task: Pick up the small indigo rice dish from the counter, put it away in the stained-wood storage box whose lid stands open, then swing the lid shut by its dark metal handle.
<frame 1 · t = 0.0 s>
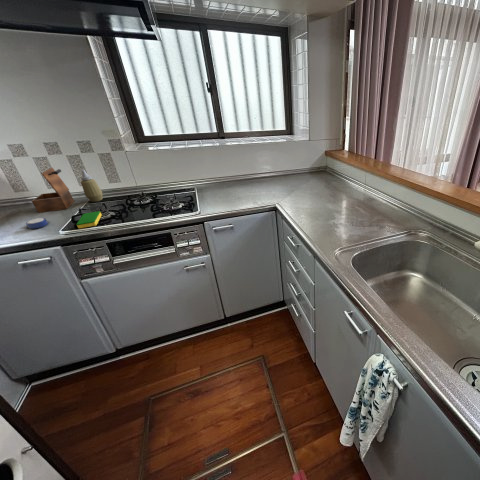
squeeze bottle: (97, 200, 158), on the worktop
storage box: (57, 206, 150), on the worktop
dish sponge: (90, 222, 133), on the worktop
box lid: (60, 180, 145), point 14 cm above the worktop, hinge at 80.0°
rice dish: (39, 226, 129), on the worktop
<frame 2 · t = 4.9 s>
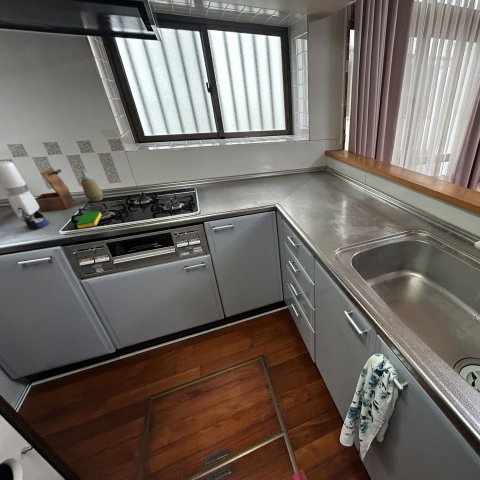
hand: (38, 224, 129), 1 cm above the worktop, tool pointing down, fingers closed on rice dish, 7 cm apart
rice dish: (39, 226, 129), on the worktop, touching gripper
everything else where it was.
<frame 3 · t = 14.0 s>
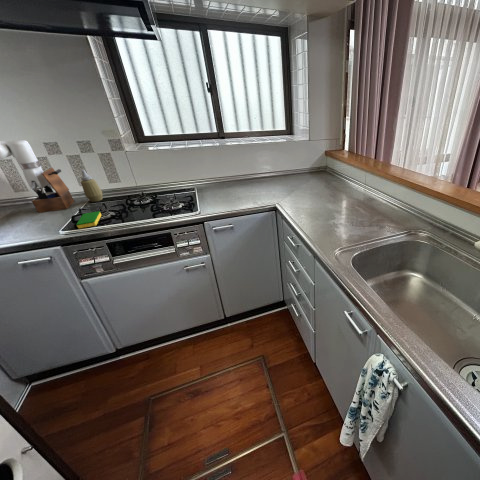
hand: (48, 197, 147), 6 cm above the worktop, tool pointing down, fingers closed on rice dish, 7 cm apart
rice dish: (49, 199, 147), point 5 cm above the worktop, touching gripper
everything else where it was.
when the fingers open (7 cm above the worktop, at t = 27.4 s): rice dish drops 6 cm, resting on storage box.
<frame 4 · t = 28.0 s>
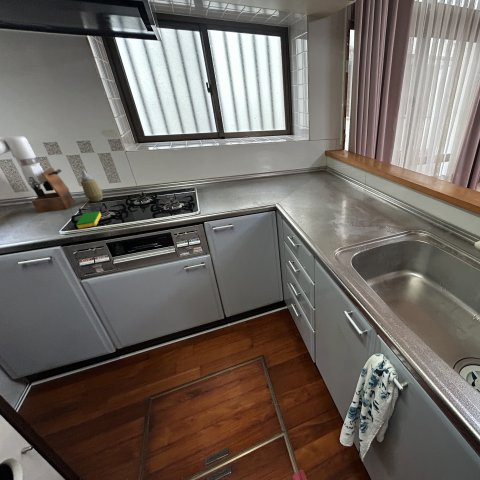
hand: (46, 193, 146), 8 cm above the worktop, tool pointing down, fingers open, 9 cm apart
rice dish: (53, 205, 150), point 1 cm above the worktop, touching storage box
everything else where it was.
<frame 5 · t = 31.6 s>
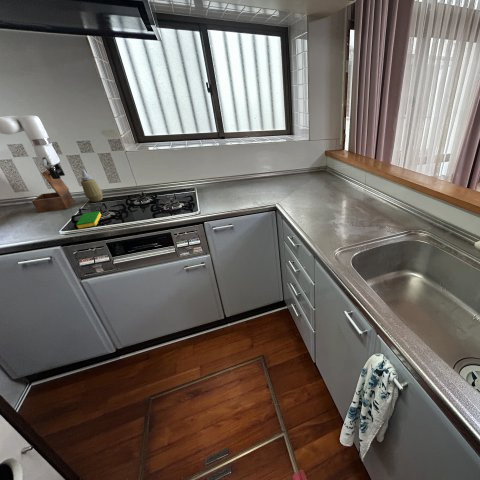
hand: (59, 176, 144), 16 cm above the worktop, tool pointing down, fingers closed on box lid, 5 cm apart
box lid: (60, 180, 145), point 14 cm above the worktop, hinge at 80.0°, touching gripper
everything else where it was.
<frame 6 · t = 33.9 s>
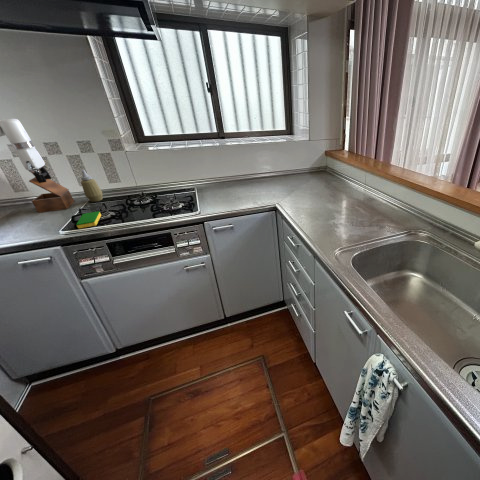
hand: (45, 180, 143), 15 cm above the worktop, tool pointing down, fingers closed on box lid, 5 cm apart
box lid: (52, 182, 144), point 14 cm above the worktop, hinge at 48.1°, touching gripper
everything else where it was.
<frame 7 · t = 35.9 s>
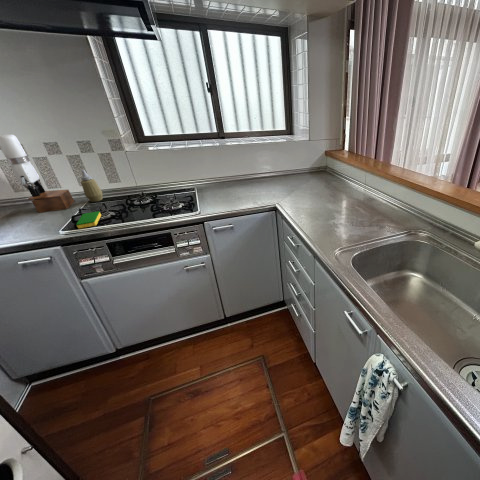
hand: (39, 193, 145), 8 cm above the worktop, tool pointing down, fingers open, 5 cm apart
box lid: (47, 190, 145), point 10 cm above the worktop, hinge at 3.2°
everything else where it was.
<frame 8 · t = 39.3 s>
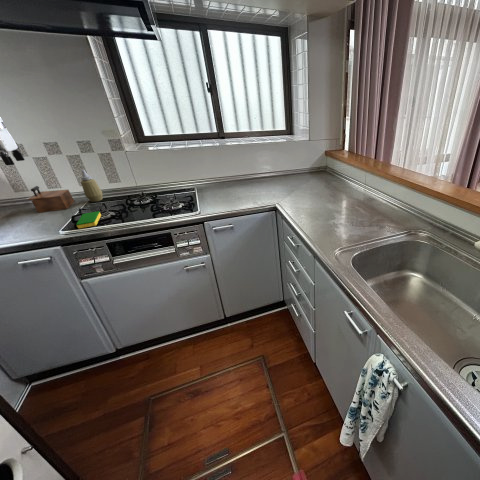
hand: (15, 162, 136), 25 cm above the worktop, tool pointing down, fingers open, 9 cm apart
box lid: (47, 190, 145), point 10 cm above the worktop, hinge at 2.3°
everything else where it was.
at the end: rice dish inside the target area in the storage box (1.4 cm from its centre), point 0.8 cm above the storage box's base; box lid at +2° (first picture: +80°); the gripper is holding nothing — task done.
